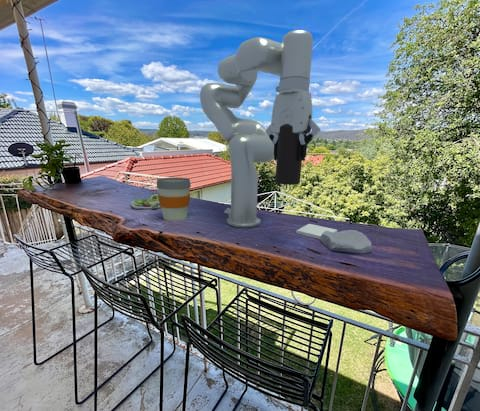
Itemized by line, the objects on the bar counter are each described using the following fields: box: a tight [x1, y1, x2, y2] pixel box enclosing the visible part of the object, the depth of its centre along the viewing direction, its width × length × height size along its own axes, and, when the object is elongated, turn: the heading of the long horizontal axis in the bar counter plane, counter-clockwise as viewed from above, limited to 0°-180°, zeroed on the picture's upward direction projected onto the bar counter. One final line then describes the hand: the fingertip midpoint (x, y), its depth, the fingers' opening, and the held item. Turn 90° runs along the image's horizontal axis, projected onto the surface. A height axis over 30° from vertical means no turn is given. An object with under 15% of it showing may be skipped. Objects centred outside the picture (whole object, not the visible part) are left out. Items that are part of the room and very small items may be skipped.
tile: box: [295, 223, 338, 240], centre depth 80 cm, size 10×10×1 cm
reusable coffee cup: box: [156, 177, 192, 222], centre depth 93 cm, size 13×13×15 cm
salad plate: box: [130, 193, 162, 211], centre depth 113 cm, size 19×18×5 cm
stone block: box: [320, 229, 372, 255], centre depth 69 cm, size 12×5×10 cm
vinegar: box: [275, 124, 303, 186], centre depth 65 cm, size 7×7×20 cm
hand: (289, 159), depth 66 cm, fingers closed on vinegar, 6 cm apart
